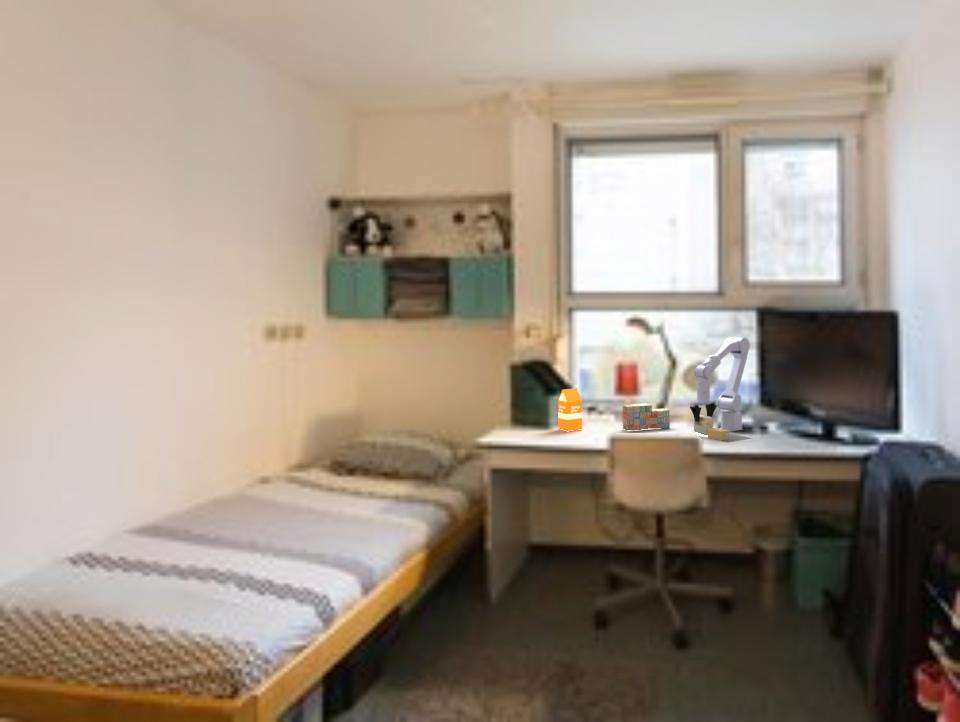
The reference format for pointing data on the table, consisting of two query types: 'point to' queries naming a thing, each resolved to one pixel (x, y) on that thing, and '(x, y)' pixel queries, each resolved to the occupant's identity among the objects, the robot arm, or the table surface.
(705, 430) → the sage brick
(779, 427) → the table surface
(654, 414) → the stack of blocks
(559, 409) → the orange juice
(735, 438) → the desk mat
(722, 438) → the ochre brick
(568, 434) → the table surface
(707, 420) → the birch brick
